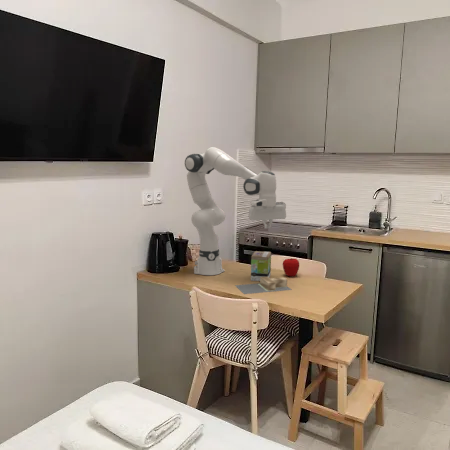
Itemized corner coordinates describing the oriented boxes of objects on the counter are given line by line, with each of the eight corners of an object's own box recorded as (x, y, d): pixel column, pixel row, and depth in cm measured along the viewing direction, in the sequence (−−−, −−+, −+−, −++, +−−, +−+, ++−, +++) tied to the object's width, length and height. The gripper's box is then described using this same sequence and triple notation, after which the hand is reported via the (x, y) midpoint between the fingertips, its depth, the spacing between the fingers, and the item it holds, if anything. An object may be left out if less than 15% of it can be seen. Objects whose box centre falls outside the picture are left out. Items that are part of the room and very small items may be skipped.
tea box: (268, 282, 232) (268, 256, 230) (250, 282, 234) (250, 256, 232) (271, 275, 247) (271, 251, 245) (254, 275, 249) (254, 250, 247)
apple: (294, 273, 252) (294, 255, 251) (302, 277, 243) (302, 258, 242) (279, 274, 249) (279, 256, 248) (286, 278, 240) (287, 260, 239)
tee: (268, 290, 215) (268, 283, 214) (260, 284, 226) (260, 277, 226) (289, 288, 218) (290, 281, 217) (281, 282, 229) (281, 275, 229)
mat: (234, 286, 225) (234, 285, 225) (279, 282, 232) (279, 281, 232) (244, 295, 210) (244, 294, 209) (292, 291, 216) (292, 289, 216)
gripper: (283, 201, 228) (283, 226, 230) (247, 202, 223) (247, 228, 225) (288, 202, 222) (287, 228, 224) (251, 203, 217) (251, 229, 218)
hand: (267, 228), depth 224 cm, fingers closed
